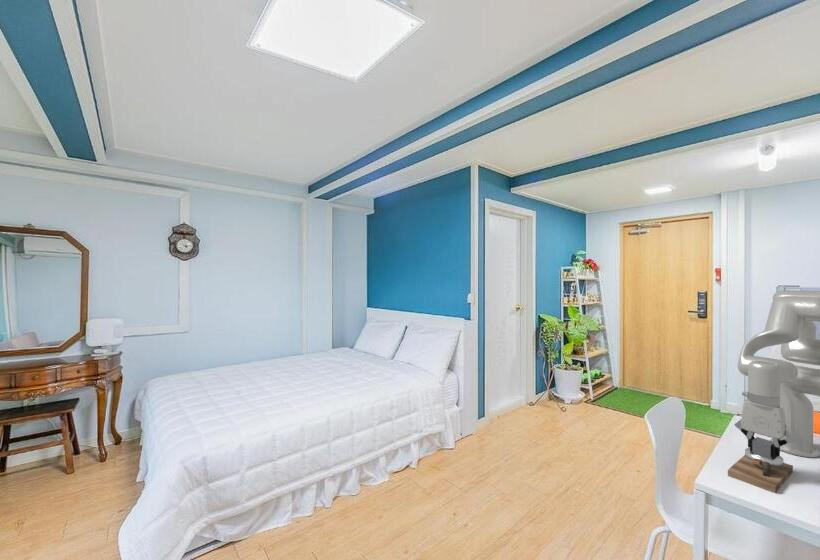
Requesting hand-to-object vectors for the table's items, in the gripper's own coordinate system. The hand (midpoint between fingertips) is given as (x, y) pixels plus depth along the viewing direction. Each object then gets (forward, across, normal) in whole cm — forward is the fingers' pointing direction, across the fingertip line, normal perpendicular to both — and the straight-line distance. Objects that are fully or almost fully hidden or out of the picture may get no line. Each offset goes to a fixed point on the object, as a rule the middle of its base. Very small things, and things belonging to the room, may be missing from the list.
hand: (763, 453), depth 115 cm
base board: (+7, 0, -1) cm, 7 cm away
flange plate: (+2, 0, -1) cm, 2 cm away
